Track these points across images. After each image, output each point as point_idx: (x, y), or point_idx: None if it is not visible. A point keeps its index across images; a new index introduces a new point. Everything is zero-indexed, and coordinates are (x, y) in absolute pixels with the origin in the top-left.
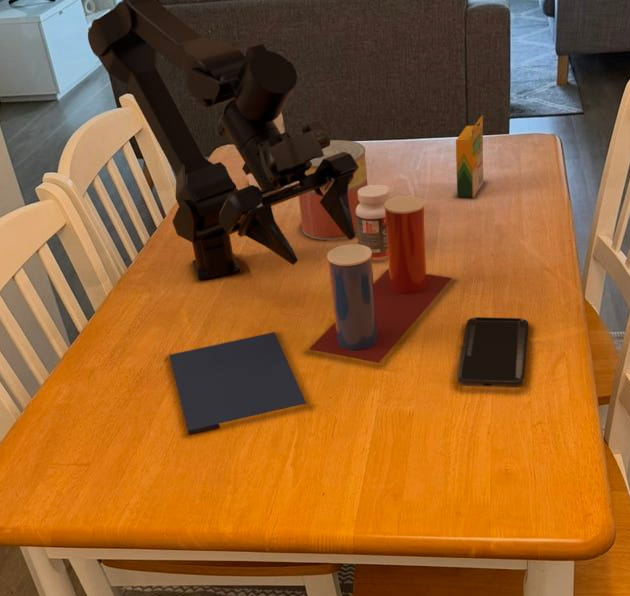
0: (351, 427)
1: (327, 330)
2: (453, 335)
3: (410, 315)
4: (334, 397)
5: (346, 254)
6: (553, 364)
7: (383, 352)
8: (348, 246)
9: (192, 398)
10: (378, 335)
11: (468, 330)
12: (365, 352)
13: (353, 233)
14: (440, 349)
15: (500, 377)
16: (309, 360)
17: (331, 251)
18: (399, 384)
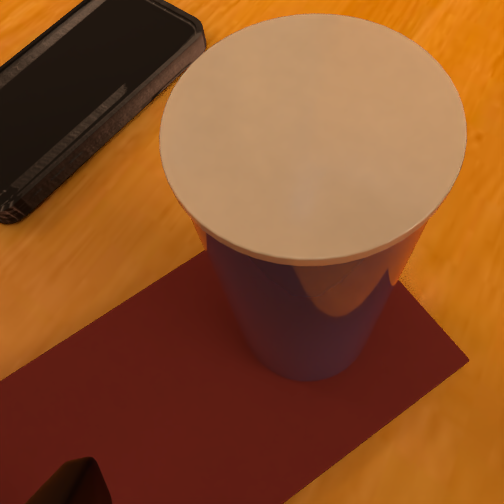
0: (471, 34)
1: (366, 437)
2: (70, 216)
3: (89, 353)
4: (469, 134)
5: (331, 117)
6: (13, 32)
7: None
8: (258, 215)
9: None
10: None
11: (44, 172)
12: None
13: (72, 463)
14: (139, 179)
15: (133, 5)
16: (477, 323)
17: (405, 210)
18: None
